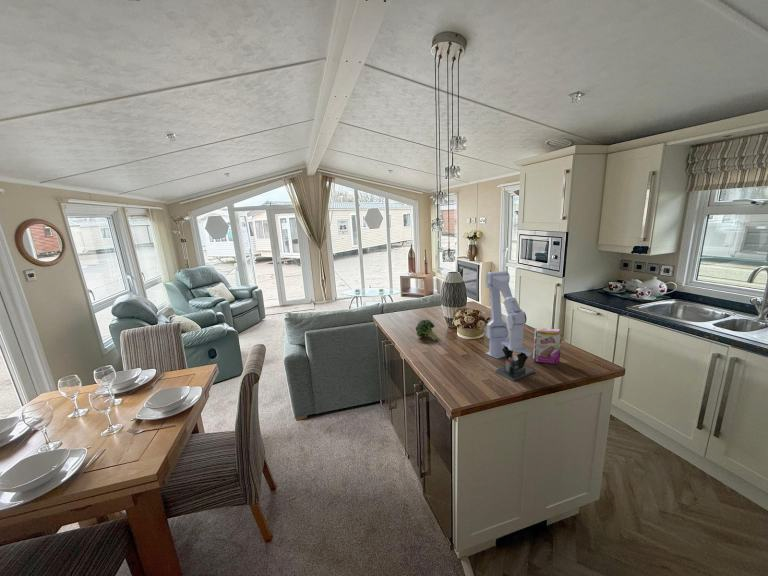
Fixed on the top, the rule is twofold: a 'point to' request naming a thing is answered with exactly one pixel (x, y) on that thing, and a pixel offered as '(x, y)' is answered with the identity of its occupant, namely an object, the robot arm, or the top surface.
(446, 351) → the top surface
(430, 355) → the top surface
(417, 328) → the vegetable
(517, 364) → the layered white box
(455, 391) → the top surface
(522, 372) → the stand base
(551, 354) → the candy bar box
